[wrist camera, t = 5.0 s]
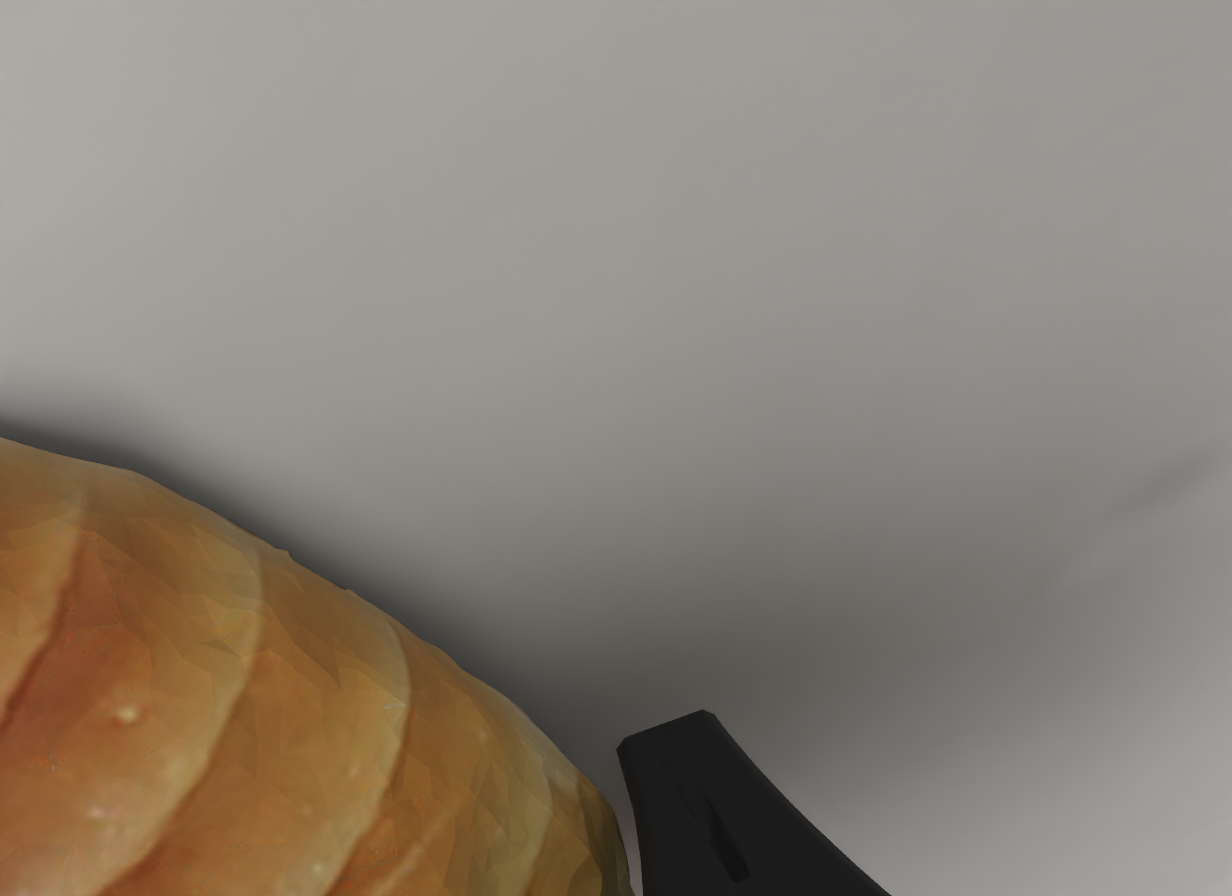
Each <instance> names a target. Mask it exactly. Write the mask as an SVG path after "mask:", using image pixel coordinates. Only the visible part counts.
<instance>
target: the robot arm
mask: <svg viewBox="0 0 1232 896" xmlns="http://www.w3.org/2000/svg"><path fill="white" fill-rule="evenodd" d="M616 750H617V754H618V758H619V761H620V765H621V768H622V772H623V775H624V779H625V782H626V786H627V789H628V793H629V796H630V800H631V803H632V807H633V811H634V816H635V822H636V829H637V837H638V844H639V851H640V859H641V871H642V884H643V896H891V895H890V894H889V893H887V892H886V891H885V890H884V889H883V888H881V887H880V886H879V885H878V884H877V883H876V882H875V881H874V880H872V879H871V878H870V877H869V876H868V875H867V874H866V873H864V872H863V871H862V870H861V869H860V868H859V867H858V866H857V865H855V864H854V863H853V862H852V861H851V860H850V859H849V858H848V857H847V856H846V855H845V854H844V853H843V852H842V851H841V850H839V849H838V848H837V847H836V846H835V845H834V844H833V843H832V842H831V841H830V840H829V839H828V838H827V837H826V836H825V835H823V834H822V833H821V832H820V831H819V830H818V829H817V828H816V827H815V826H814V825H813V824H812V823H811V822H810V821H809V820H808V819H807V818H806V817H805V816H804V815H803V814H802V813H801V812H800V811H799V810H798V809H797V808H796V807H795V806H794V805H793V804H792V803H791V802H790V801H789V800H788V799H787V798H786V797H785V796H784V795H783V794H782V793H781V792H780V791H779V790H778V789H777V788H776V787H775V786H774V785H773V783H772V782H771V781H770V780H769V779H768V778H767V777H766V776H765V775H764V774H763V773H762V772H761V771H760V769H759V768H758V767H757V766H756V765H755V764H754V763H753V762H752V761H751V759H750V758H749V757H748V756H747V755H746V754H745V752H744V751H743V750H742V749H741V748H740V747H739V745H738V744H737V743H736V742H735V741H734V739H733V738H732V737H731V736H730V734H729V733H728V732H727V731H726V729H725V728H724V727H723V726H722V724H721V723H720V721H719V720H718V719H717V717H716V716H715V715H714V714H713V713H710V712H708V711H705V710H703V709H702V710H699V711H697V712H694V713H691V714H688V715H686V716H683V717H680V718H677V719H675V720H672V721H669V722H666V723H664V724H661V725H658V726H655V727H653V728H650V729H647V730H644V731H642V732H639V733H636V734H633V735H631V736H628V737H625V738H624V739H623V741H622V742H621V743H620V745H619V746H618V748H617V749H616Z"/></svg>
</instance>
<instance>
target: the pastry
mask: <svg viewBox="0 0 1232 896" xmlns="http://www.w3.org/2000/svg"><path fill="white" fill-rule="evenodd" d="M0 896H635V894H634V892H633V889H632V887H631V884H630V875H629V868H628V861H627V855H626V851H625V848H624V844H623V840H622V837H621V833H620V829H619V826H618V822H617V819H616V816H615V812H614V811H613V810H612V808H611V807H610V805H609V804H608V803H607V801H606V800H605V798H604V797H603V795H602V794H601V793H600V791H599V790H598V788H597V787H596V786H595V785H594V784H593V783H592V782H591V781H590V780H589V779H588V778H587V777H586V776H585V775H584V774H583V773H582V772H581V771H580V770H579V769H578V768H577V767H576V766H575V765H574V764H573V763H572V762H571V761H570V760H569V759H568V758H567V757H566V756H565V755H564V754H563V753H562V752H561V751H560V750H559V749H558V748H557V746H556V745H555V744H554V743H553V742H552V741H551V740H550V739H549V738H548V737H547V736H546V735H545V734H544V733H543V732H542V731H541V730H540V729H539V728H538V727H537V725H536V724H535V723H534V722H533V721H532V720H531V719H530V718H529V716H528V715H527V714H526V713H525V712H524V710H523V709H522V708H521V707H520V706H519V705H517V704H516V703H515V702H513V701H512V700H510V699H509V698H507V697H506V696H504V695H503V694H501V693H500V692H498V691H497V690H495V689H493V688H492V687H490V686H488V685H487V684H485V683H484V682H482V681H480V680H479V679H477V678H476V677H474V676H472V675H471V674H469V673H467V672H466V671H464V670H463V669H461V668H459V666H458V665H457V664H456V663H455V662H454V660H453V659H452V658H451V657H450V656H449V655H448V654H447V653H446V652H444V651H442V650H441V649H440V648H439V647H435V646H433V645H431V644H429V643H427V642H425V641H424V640H422V639H420V638H419V637H417V636H416V635H415V634H414V633H413V632H411V631H410V630H409V629H408V628H406V627H405V626H404V625H403V624H402V623H400V622H399V621H398V620H396V619H395V618H393V617H392V616H390V615H389V614H387V613H386V612H384V611H382V610H381V609H379V608H378V607H376V606H374V605H373V604H371V603H369V602H367V601H366V600H364V599H362V598H361V597H359V596H358V595H357V594H355V593H354V592H353V591H352V590H350V589H346V590H343V589H341V588H340V587H338V586H336V585H335V584H333V583H331V582H329V581H328V580H326V579H324V578H323V577H321V576H319V575H317V574H316V573H314V572H312V571H310V570H309V569H307V568H305V567H303V566H302V565H300V564H298V563H296V562H295V561H294V560H293V559H292V558H291V556H290V555H289V552H288V551H287V550H282V549H275V548H274V547H273V546H271V545H270V544H268V543H267V542H265V541H264V540H262V539H261V538H259V537H258V536H257V535H255V534H254V533H252V532H250V531H248V530H246V529H244V528H242V527H241V526H239V525H237V524H235V523H233V522H232V521H230V520H228V519H226V518H224V517H223V516H221V515H219V514H217V513H215V512H213V511H211V510H210V509H208V508H206V507H204V506H202V505H200V504H198V503H196V502H193V501H191V500H189V499H186V498H184V497H182V496H180V495H179V494H177V493H175V492H173V491H171V490H170V489H168V488H166V487H164V486H162V485H161V484H159V483H157V482H155V481H153V480H152V479H150V478H148V477H145V476H143V475H141V474H139V473H137V472H135V471H131V470H127V469H122V468H118V467H113V466H109V465H104V464H99V463H95V462H90V461H85V460H80V459H76V458H71V457H67V456H63V455H59V454H55V453H51V452H48V451H44V450H41V449H37V448H34V447H31V446H27V445H24V444H21V443H18V442H14V441H11V440H8V439H4V438H1V437H0Z"/></svg>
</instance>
